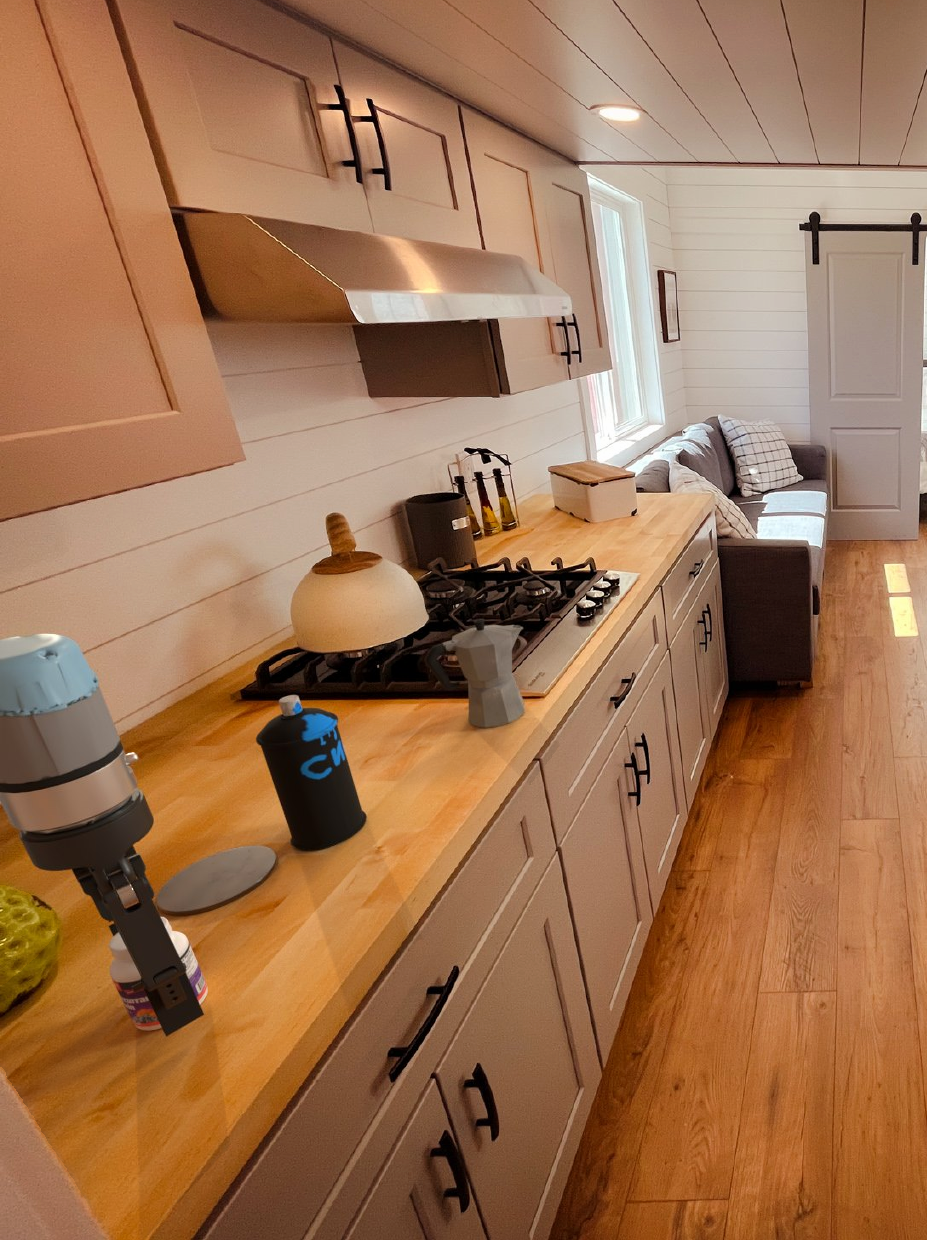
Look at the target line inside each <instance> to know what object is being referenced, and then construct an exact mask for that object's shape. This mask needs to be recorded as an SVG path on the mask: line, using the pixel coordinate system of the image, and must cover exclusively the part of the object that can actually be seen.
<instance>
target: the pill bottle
mask: <svg viewBox="0 0 927 1240" xmlns="http://www.w3.org/2000/svg"><path fill="white" fill-rule="evenodd" d="M160 917H161V919H162V921H163V923H164V925H165V928H166V930H167V932H168V934H169V936H170V938H171V940H172V942H173V944H174V947H175V949H176V951H177V953H178V955H179V957H180V959H181V961H182V962H183V963H185V965H186V967H187V968H186V970H187V971H186V974H187V976H188V979H189V981H190V983H191V985H192V988H193V990H194V992H195V995H196V997H197V999H198V1001H199V1004H200V1005H201V1004H202V1003H203V1002H204V1001H205V999H206V998H207V995H208V992H209V988H208V984H207V981H206V979H205V976H204V974H203V972H202V970H201V967H200V964H199V962H198V960H197V958H196V954H195V953H194V951H193V948H192V946H191V944H190V942H189V939H188V937H187V935H185V934H184V933H182V932H181V931H176V930H173V929H172V926H171V923H170V922H169V920H168V919H167V918H166V917H164V916H160ZM108 948H109V949H110V952H111V953H112V956H113V957H114V959H113V961H112V962H111V964H110V967H109V975H110V979H111V980H112V982H113V984H114V986H115V988H116V991H117V993H118V995H119V997H120V998H121V1001H122V1003H123V1005H124V1007H125V1009H126V1011H127V1013H128V1015H129V1018H130V1019H131V1022H132V1024H134V1026H135V1027H136V1029H139V1030H141V1031H156V1030H161V1029H162V1027H161V1025H160V1023H159V1021H158V1019H157V1016H156V1014H155V1012H154V1010H153V1008H152V1006H151V1004H150V1002H149V1000H148V998H147V995H146V993H145V991H144V989H142V990H140V991H138V992H136V993H134V991H133V989H132V986H134V985H136V984H137V983H139V982H140V979H141V976H140V974H139V972H138V970H137V968H136V966H135V964H134V962H133V960H132V958H131V956H130V954H129V952H128V950H127V948H126V946H125V944H124V942H123V940H122V938H121V936H120V934H119V932H118V933H117V934H116V935H115V936H114V937H112V938H111V939H110V941H109V944H108Z"/></svg>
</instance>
